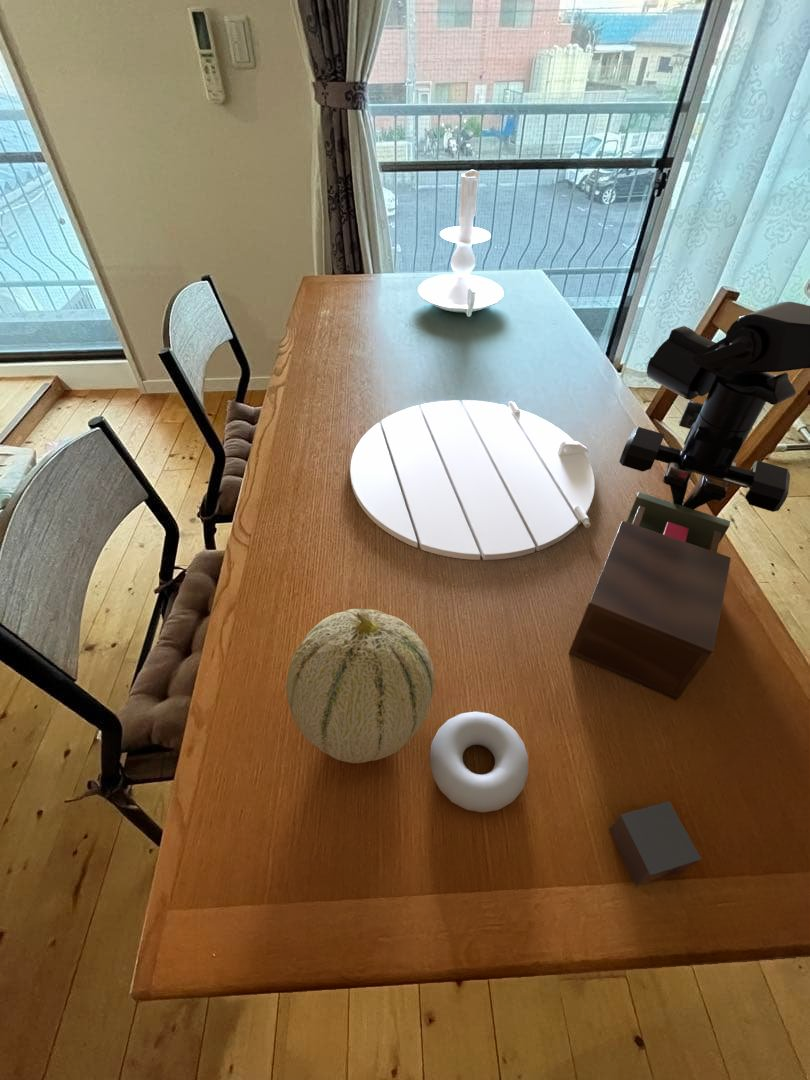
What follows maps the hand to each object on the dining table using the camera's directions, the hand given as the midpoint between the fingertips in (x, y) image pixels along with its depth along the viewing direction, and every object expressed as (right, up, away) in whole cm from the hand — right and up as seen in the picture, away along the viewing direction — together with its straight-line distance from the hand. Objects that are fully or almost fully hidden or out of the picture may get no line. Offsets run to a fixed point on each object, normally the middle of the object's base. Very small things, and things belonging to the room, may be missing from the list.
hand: (677, 516), depth 75 cm
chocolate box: (-4, -8, -2) cm, 9 cm away
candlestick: (-23, +53, +59) cm, 83 cm away
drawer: (-3, -7, 0) cm, 8 cm away
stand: (-14, -32, -23) cm, 42 cm away
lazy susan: (-26, +8, +16) cm, 31 cm away
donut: (-29, -27, -18) cm, 43 cm away
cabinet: (-8, -15, -6) cm, 18 cm away
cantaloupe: (-41, -23, -14) cm, 49 cm away
